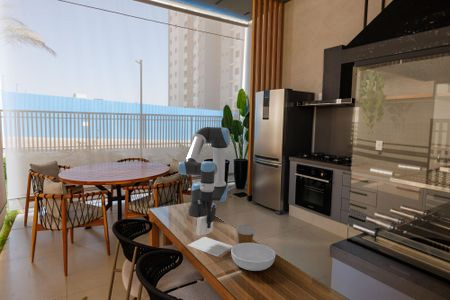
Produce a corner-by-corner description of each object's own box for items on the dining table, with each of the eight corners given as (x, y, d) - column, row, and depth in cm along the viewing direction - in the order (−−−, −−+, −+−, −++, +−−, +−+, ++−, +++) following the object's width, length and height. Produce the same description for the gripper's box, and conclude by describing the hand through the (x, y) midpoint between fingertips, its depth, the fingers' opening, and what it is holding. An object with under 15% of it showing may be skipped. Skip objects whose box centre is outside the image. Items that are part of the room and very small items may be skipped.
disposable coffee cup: (255, 248, 147) (257, 226, 146) (249, 255, 138) (251, 232, 137) (239, 244, 150) (240, 223, 150) (232, 251, 142) (234, 228, 141)
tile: (209, 230, 152) (210, 214, 152) (212, 231, 151) (214, 215, 151) (195, 234, 142) (197, 217, 142) (199, 235, 141) (200, 218, 141)
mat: (204, 237, 157) (204, 236, 157) (233, 247, 146) (233, 246, 146) (187, 246, 145) (187, 245, 145) (217, 257, 134) (217, 256, 134)
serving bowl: (284, 271, 124) (285, 256, 124) (246, 281, 114) (247, 266, 113) (256, 252, 142) (257, 239, 142) (222, 259, 132) (223, 246, 131)
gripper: (191, 189, 146) (189, 231, 148) (214, 194, 138) (212, 238, 140) (200, 187, 153) (198, 227, 154) (222, 191, 144) (220, 234, 146)
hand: (205, 232), depth 147 cm, fingers closed on tile, 2 cm apart
